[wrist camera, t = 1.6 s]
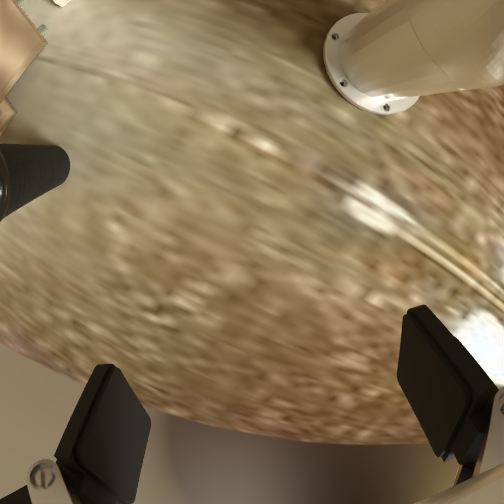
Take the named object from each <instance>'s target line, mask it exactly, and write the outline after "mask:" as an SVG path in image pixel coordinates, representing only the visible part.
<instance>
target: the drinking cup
mask: <svg viewBox="0 0 504 504" xmlns="http://www.w3.org/2000/svg"><path fill="white" fill-rule="evenodd" d="M69 170H70V161H69V157H68V155H67V153H66V152H65V151H64V150H63V149H62V148H60V147H57V146H42V145H21V144H0V222H1V220H2V219H3V218H5V217H6V216H8V215H9V214H11V213H12V212H14V211H16V210H17V209H19V208H20V207H22V206H24V205H25V204H27V203H29V202H30V201H32V200H34V199H36V198H37V197H39V196H41V195H43V194H44V193H46V192H48V191H50V190H52V189H53V188H55V187H57V186H59V185H61V184H62V183H63V182H64V181H65V180H66V178H67V177H68V174H69Z"/></svg>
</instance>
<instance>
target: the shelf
mask: <svg viewBox="0 0 504 504" xmlns="http://www.w3.org/2000/svg"><path fill="white" fill-rule="evenodd" d="M25 1H26V0H16V1H15V0H0V136H1V134H2V133H3V131H4V130H5V128H6V127H7V125H8V124H9V122H10V121H11V119H12V118H13V116H14V115H15V114H16V112H15V110H14V109H13V107H12V106H11V104H10V103H9V101H8V99H7V98H6V95H7V94H8V92H9V91H10V89H11V88H12V87H13V85H14V84H15V83H16V81H17V80H18V79H19V77H20V76H21V75H22V73H23V72H24V71H25V70H26V68H27V67H28V66H29V65H30V64H31V62H32V61H33V60H34V59H35V58H36V56H37V55H38V54H39V53H40V52H41V51H42V49H43V48H44V47H45V46H46V45H47V44H48V43H47V41H46V40H45V39H44V38H43V36H44V35H45V34H46V33H47V32H48V31H49V29H48V27H46V26H44V25H41V26H40V27H39V29H38V30H37V28H36V27H35V26H34V25H33V23H32V22H31V21H30V19H29V18H28V17H27V15H26V14H25V13H24V12H23V10H22V9H21V8H20V7H21V6H22V5H23V3H24V2H25Z"/></svg>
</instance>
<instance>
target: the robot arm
mask: <svg viewBox="0 0 504 504" xmlns="http://www.w3.org/2000/svg"><path fill="white" fill-rule="evenodd" d="M332 37H333V38H335V40H334V39H332ZM323 59H324V64H325V68H326V72H327V74H328V76H329V78H330V80H331V82H332V83H333V85H334V86H335V88H336V89H337V91H338V92H339V93H340V94H341V95H342V96H343V97H344V98H345V99H346V100H348V101H349V102H350V103H351V104H353V105H354V106H356V107H358V108H360V109H362V110H364V111H367V112H370V113H373V114H380V115H389V114H396V113H400V112H402V111H405V110H407V109H408V108H409V107H411V106H412V105H413V104H414V103H415V102H416V101H417V100H418V98H419V96H421V95H428V94H435V93H443V92H452V91H461V90H471V89H481V88H492V87H497V86H501V85H504V0H385V1H384V2H383V3H381V4H380V5H379V6H378V7H376V8H375V9H374V10H373V11H371V12H370V13H362V12H361V13H354V14H350V15H348V16H345V17H343V18H342V19H340V20H339V21H337V22H336V23H335V24H334V25H333V26H332V28H331V29H330V31H329V32H328V33H327V36H326V38H325V41H324V47H323ZM340 82H341V83H343V86H341V85H340ZM383 106H384V107H385V110H384V108H383ZM397 379H398V382H399V384H400V386H401V388H402V390H403V392H404V394H405V396H406V397H407V399H408V401H409V403H410V405H411V407H412V409H413V411H414V413H415V415H416V417H417V419H418V421H419V423H420V425H421V427H422V429H423V431H424V433H425V435H426V437H427V439H428V441H429V443H430V445H431V447H432V449H433V451H434V453H435V455H436V456H437V457H440V456H441V457H442V459H443V461H444V462H447V461H449V460H450V459H453V458H455V457H456V459H457V461H458V463H459V464H460V466H459V468H458V472H457V475H456V477H455V480H454V484H453V486H452V488H450V489H448V490H445V491H443V492H441V493H439V494H436V495H435V496H432V497H429V498H427V499H425V500H423V501H420V502H417V503H415V504H504V387H503V388H501V389H500V390H499V389H498V388H497V387H496V385H495V384H494V383H493V382H492V380H491V379H490V378H489V376H488V375H487V374H486V373H485V371H484V370H483V369H482V368H481V366H480V365H479V364H478V363H477V361H476V360H475V359H474V358H473V357H472V355H471V354H470V353H469V352H468V351H467V349H466V348H465V347H464V346H463V345H462V343H461V342H460V341H459V340H458V339H457V338H456V337H454V336H453V335H452V334H451V333H450V332H449V330H448V329H447V328H446V327H445V326H444V325H443V324H442V322H441V321H440V320H439V319H438V318H437V317H436V316H435V315H434V313H433V312H432V311H431V310H430V309H429V308H428V307H427V306H426V305H420V306H417V307H414V308H411V309H408V311H407V314H406V315H404V316H403V321H402V333H401V344H400V353H399V362H398V369H397ZM150 428H151V420H150V417H149V415H148V414H147V413H146V411H145V409H144V408H143V406H142V405H141V403H140V401H139V400H138V398H137V397H136V395H135V394H134V392H133V390H132V389H131V387H130V385H129V384H128V382H127V380H126V379H125V377H124V375H123V374H122V372H121V370H120V369H119V368H116V367H115V365H113V364H100V365H97V366H96V367H95V368H94V370H93V372H92V374H91V376H90V378H89V380H88V382H87V384H86V386H85V388H84V391H83V393H82V395H81V397H80V399H79V401H78V403H77V405H76V408H75V409H74V412H73V414H72V416H71V418H70V420H69V422H68V425H67V428H66V429H65V432H64V434H63V436H62V438H61V441H60V443H59V445H58V448H57V450H56V453H55V455H54V456H55V457H56V458H57V461H56V463H55V462H54V461H53V460H50V459H42V460H39V461H37V462H35V463H34V464H33V465H32V466H31V467H30V469H29V471H28V472H27V477H26V482H27V485H26V486H24V487H22V488H20V489H19V490H17V491H15V492H13V493H11V494H9V495H7V496H6V497H4V498H2V499H0V504H131V503H133V502H134V501H135V496H136V492H137V487H138V481H139V477H140V472H141V468H142V463H143V459H144V454H145V449H146V445H147V441H148V436H149V432H150Z"/></svg>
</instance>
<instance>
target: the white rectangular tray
mask: <svg viewBox="0 0 504 504" xmlns="http://www.w3.org/2000/svg"><path fill="white" fill-rule="evenodd" d="M53 1H54V2H55V3H56V4H58V5H59V6H61V7H62V8H63V7H64V6H65V5H66V4H67V3H68V2H69V1H70V0H53Z"/></svg>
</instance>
